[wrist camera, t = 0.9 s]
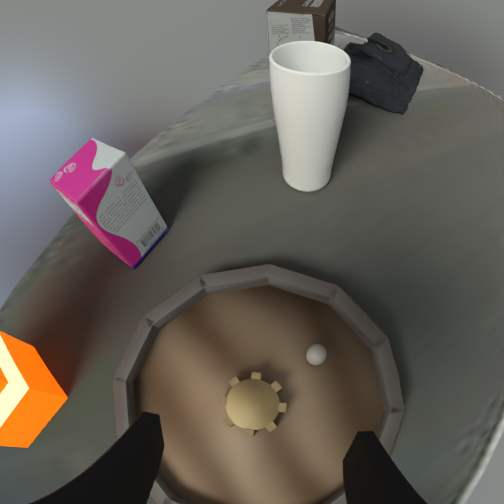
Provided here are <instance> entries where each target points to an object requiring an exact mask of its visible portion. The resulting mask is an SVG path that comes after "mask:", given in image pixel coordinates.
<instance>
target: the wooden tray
mask: <svg viewBox="0 0 504 504" xmlns="http://www.w3.org/2000/svg"><path fill="white" fill-rule="evenodd" d="M113 387H114V405H115V419H116V431H117V440H118V439H119V438H120V437H121V436H122V435H123V434H124V432H125V431H126V430H127V429H128V428H129V427H130V426H131V424H132V423H133V422H134V421H135V420H136V418H137V417H138V416H139V415H140V413H141V412H143V411H145V412H150V413H155V414H159V416H160V422H161V428H162V433H163V439H164V445H165V446H164V451H163V455H162V460H161V464H160V468H159V471H158V473H157V476H156V479H155V482H154V484H153V487H152V490H151V492H150V495H151V496H152V498H153V499H154V500H155V502H156V503H157V504H347V501H346V495H345V490H344V483H343V459H344V457H345V455H346V453H347V451H348V449H349V448H350V446H351V444H352V442H353V440H354V438H355V436H356V434H357V432H358V431H373V432H374V433H375V435H376V436H377V438H378V439H379V441H380V442H381V444H382V445H383V447H384V449H385V450H386V452H387V453H388V455H389V456H390V454H391V452H392V450H393V447H394V444H395V441H396V438H397V434H398V430H399V426H400V423H401V420H402V417H403V414H404V411H405V408H404V403H403V398H402V394H401V387H400V380H399V374H398V371H397V367H396V364H395V361H394V358H393V354H392V350H391V346H390V342H389V338H388V337H387V336H386V335H385V334H384V332H383V331H382V330H381V329H380V328H379V327H378V326H377V325H376V324H375V323H374V322H373V321H372V320H371V319H370V318H369V317H368V315H367V314H366V313H365V312H364V311H363V310H362V309H361V308H360V307H359V306H358V305H357V304H356V303H355V302H354V301H353V300H352V299H351V298H350V297H349V296H348V295H347V294H346V293H345V292H344V291H343V290H342V289H341V288H340V287H339V286H338V285H335V284H332V283H328V282H325V281H322V280H319V279H316V278H313V277H309V276H306V275H303V274H300V273H297V272H293V271H290V270H287V269H284V268H281V267H278V266H275V265H271V264H266V265H260V266H254V267H248V268H242V269H236V270H230V271H223V272H217V273H211V274H205V275H199V276H198V277H197V278H195V279H194V280H192V281H191V282H190V283H188V284H187V285H185V286H184V287H183V288H181V289H180V290H179V291H177V292H176V293H174V294H173V295H172V296H170V297H169V298H167V299H166V300H165V301H163V302H162V303H161V304H159V305H158V306H156V307H155V308H154V309H152V310H151V311H150V312H148V313H147V314H146V315H144V316H143V318H142V320H141V322H140V323H139V325H138V327H137V329H136V332H135V334H134V336H133V338H132V340H131V342H130V344H129V346H128V348H127V350H126V352H125V354H124V356H123V358H122V360H121V362H120V364H119V367H118V369H117V371H116V373H115V375H114V377H113Z"/></svg>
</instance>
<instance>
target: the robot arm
mask: <svg viewBox="0 0 504 504" xmlns="http://www.w3.org/2000/svg"><path fill="white" fill-rule="evenodd" d="M164 446H165V445H164V439H163V433H162V428H161V422H160V416H159V414H155V413H150V412H145V411H143V412H141V413H140V415H139V416H138V417H137V418H136V420H135V421H134V422H133V423H132V424H131V426H130V427H129V428H128V429H127V430H126V431H125V432H124V434H123V435H122V436H121V437H120V438H119V439H118V440H117V441H116V442H115V443H114V444H113V445H112V446H111V447H110V448H109V449H108V450H107V451H106V452H105V453H104V454H103V455H102V456H101V457H100V458H99V459H98V460H97V461H96V462H94V463H93V464H92V465H91V466H90V467H89V468H88V469H86V470H85V471H84V472H83V473H81V474H80V475H79V476H77V477H76V478H74V479H73V480H72V481H70V482H69V483H67V484H66V485H64V486H62V487H61V488H59V489H58V490H56V491H54V492H52V493H51V494H49V495H47V496H45V497H43V498H41V499H39V500H37V501H34V502H32V503H30V504H146V503H147V500H148V498H149V495H150V492H151V490H152V487H153V484H154V482H155V479H156V476H157V473H158V471H159V468H160V464H161V460H162V455H163V451H164ZM343 483H344V490H345V495H346V501H347V504H427V503H426V502H425V501H424V500H423V499H422V498H421V497H420V495H419V494H418V493H417V492H416V491H415V490H414V488H413V487H412V486H411V485H410V484H409V482H408V481H407V480H406V479H405V477H404V476H403V475H402V473H401V472H400V470H399V469H398V468H397V466H396V465H395V463H394V462H393V461H392V459H391V458H390V456H389V455H388V453H387V452H386V450H385V449H384V447H383V445H382V444H381V442H380V441H379V439H378V438H377V436H376V435H375V433H374V432H373V431H358V432H357V434H356V436H355V438H354V440H353V442H352V444H351V446H350V448H349V449H348V451H347V453H346V455H345V457H344V459H343Z"/></svg>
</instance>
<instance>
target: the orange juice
mask: <svg viewBox="0 0 504 504" xmlns="http://www.w3.org/2000/svg"><path fill="white" fill-rule="evenodd" d="M67 398H68V397H67V396H66V394H65V393H64V392H63V390H62V389H61V387H60V386H59V385H58V383H57V382H56V380H55V379H54V377H53V376H52V374H51V373H50V371H49V370H48V368H47V367H46V365H45V364H44V362H43V361H42V359H41V358H40V356H39V355H38V353H37V351H36V350H35V348H34V347H33V346H31V345H29V344H26V343H24V342H22V341H20V340H18V339H16V338H13V337H11V336H9V335H7V334H5V333H3V332H1V331H0V446H12V447H29V445H30V444H31V443H32V441H33V440H34V439H35V438H36V436H37V435H38V434H39V433H40V431H41V430H42V429H43V428H44V426H45V425H46V424H47V423H48V422H49V420H50V419H51V418H52V417H53V415H54V414H55V413H56V412H57V411H58V409H59V408H60V407H61V406H62V404H63V403H64V402H65V401H66V400H67Z"/></svg>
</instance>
